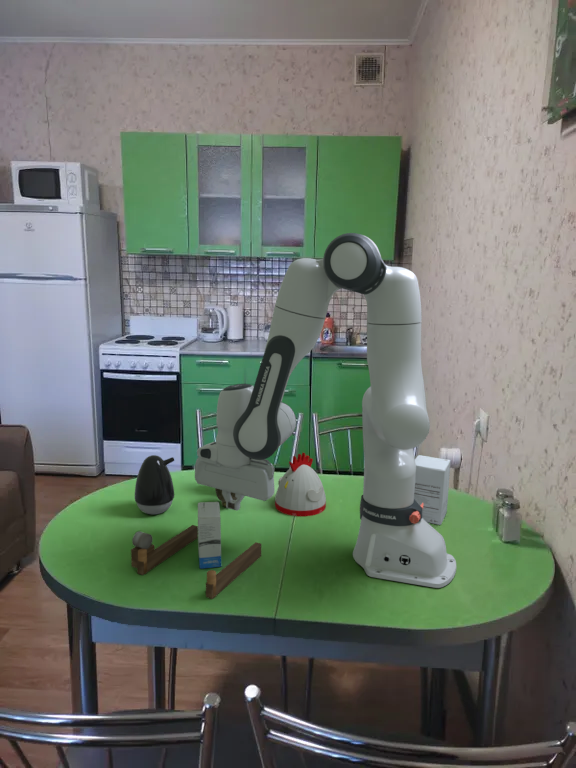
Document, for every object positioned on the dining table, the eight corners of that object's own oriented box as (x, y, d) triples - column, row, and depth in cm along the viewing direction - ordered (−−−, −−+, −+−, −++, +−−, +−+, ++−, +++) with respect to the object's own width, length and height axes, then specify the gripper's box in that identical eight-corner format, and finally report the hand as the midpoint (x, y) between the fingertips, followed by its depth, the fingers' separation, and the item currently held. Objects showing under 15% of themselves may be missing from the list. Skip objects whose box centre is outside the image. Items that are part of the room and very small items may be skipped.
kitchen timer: (264, 504, 151) (265, 452, 148) (301, 491, 161) (302, 442, 158) (299, 521, 141) (300, 466, 138) (336, 507, 150) (338, 454, 147)
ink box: (221, 567, 118) (221, 516, 116) (198, 569, 118) (197, 518, 115) (219, 548, 127) (219, 500, 124) (198, 549, 126) (197, 501, 124)
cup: (244, 501, 153) (244, 473, 151) (239, 512, 146) (239, 483, 144) (217, 499, 154) (217, 472, 152) (211, 510, 147) (211, 482, 145)
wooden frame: (261, 556, 124) (262, 526, 122) (212, 599, 107) (212, 565, 106) (182, 533, 134) (182, 505, 132) (126, 569, 117) (125, 538, 116)
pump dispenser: (176, 516, 143) (175, 460, 139) (134, 520, 140) (132, 463, 137) (174, 501, 152) (173, 448, 149) (135, 504, 150) (133, 450, 147)
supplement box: (414, 505, 152) (417, 454, 149) (447, 512, 148) (451, 459, 145) (406, 518, 144) (409, 464, 141) (440, 525, 140) (445, 470, 137)
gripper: (280, 457, 126) (278, 514, 129) (206, 441, 135) (205, 494, 138) (267, 465, 120) (264, 524, 123) (191, 448, 129) (190, 503, 132)
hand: (233, 508), depth 130 cm, fingers closed
